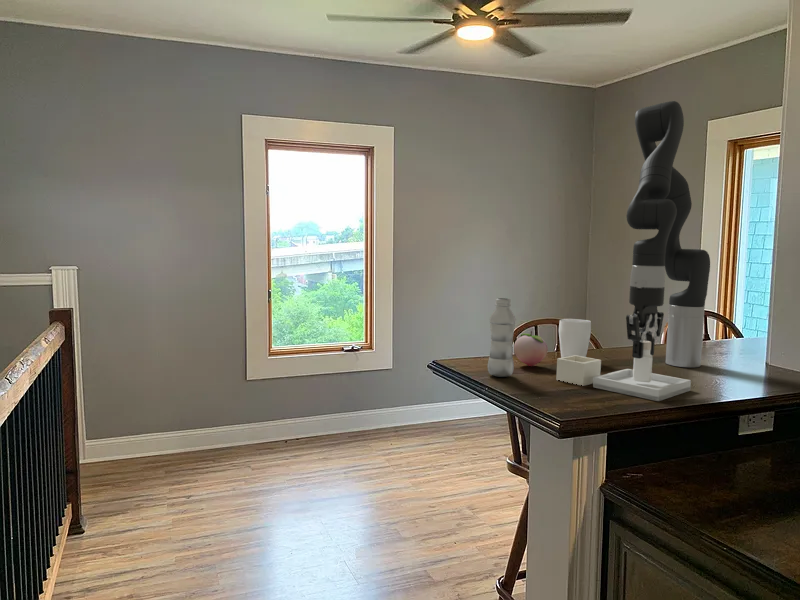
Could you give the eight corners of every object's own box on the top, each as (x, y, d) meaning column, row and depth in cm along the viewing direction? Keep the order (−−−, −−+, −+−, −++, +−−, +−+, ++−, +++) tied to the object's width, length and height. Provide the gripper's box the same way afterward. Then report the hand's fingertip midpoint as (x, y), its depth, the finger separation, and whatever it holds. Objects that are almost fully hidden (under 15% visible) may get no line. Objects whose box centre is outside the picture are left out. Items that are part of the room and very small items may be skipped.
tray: (626, 378, 154) (627, 368, 154) (690, 390, 142) (690, 380, 142) (593, 387, 144) (593, 376, 143) (658, 401, 132) (659, 390, 131)
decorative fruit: (506, 365, 168) (507, 330, 167) (526, 362, 172) (527, 327, 171) (532, 371, 160) (533, 334, 159) (552, 368, 165) (553, 332, 164)
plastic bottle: (491, 372, 158) (494, 297, 156) (516, 375, 155) (519, 298, 153) (483, 377, 152) (486, 298, 150) (509, 380, 149) (512, 300, 147)
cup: (591, 365, 170) (593, 323, 169) (558, 363, 172) (560, 321, 170) (587, 359, 179) (589, 319, 177) (556, 357, 180) (558, 318, 179)
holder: (573, 376, 155) (574, 355, 155) (599, 381, 150) (601, 359, 149) (556, 380, 150) (557, 358, 150) (583, 385, 145) (584, 363, 144)
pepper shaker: (632, 378, 145) (634, 339, 144) (650, 379, 144) (652, 340, 143) (632, 381, 142) (635, 341, 141) (651, 383, 140) (653, 343, 139)
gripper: (646, 283, 148) (642, 351, 150) (616, 284, 139) (612, 357, 140) (677, 285, 142) (672, 355, 144) (647, 287, 133) (643, 362, 135)
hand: (643, 356), depth 142 cm, fingers closed on pepper shaker, 5 cm apart
